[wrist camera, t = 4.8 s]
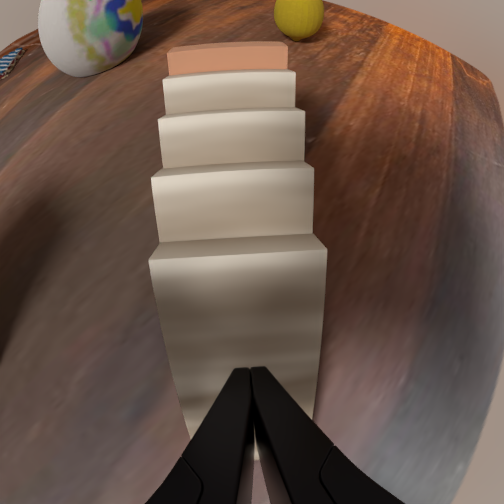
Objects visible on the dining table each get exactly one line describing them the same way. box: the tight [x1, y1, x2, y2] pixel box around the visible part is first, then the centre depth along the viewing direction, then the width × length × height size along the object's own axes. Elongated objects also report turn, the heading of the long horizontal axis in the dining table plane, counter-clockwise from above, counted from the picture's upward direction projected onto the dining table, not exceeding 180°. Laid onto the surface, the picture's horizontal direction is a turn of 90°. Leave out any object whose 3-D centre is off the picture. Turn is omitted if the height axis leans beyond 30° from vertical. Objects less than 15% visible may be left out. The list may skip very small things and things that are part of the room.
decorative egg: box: [38, 0, 143, 77], centre depth 22 cm, size 12×12×15 cm
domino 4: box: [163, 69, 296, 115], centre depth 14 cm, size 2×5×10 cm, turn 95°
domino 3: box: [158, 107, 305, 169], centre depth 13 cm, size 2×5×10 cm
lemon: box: [274, 0, 324, 41], centre depth 26 cm, size 6×6×8 cm
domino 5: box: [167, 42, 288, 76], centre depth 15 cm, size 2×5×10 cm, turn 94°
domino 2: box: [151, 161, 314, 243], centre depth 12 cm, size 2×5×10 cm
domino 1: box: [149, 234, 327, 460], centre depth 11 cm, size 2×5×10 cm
